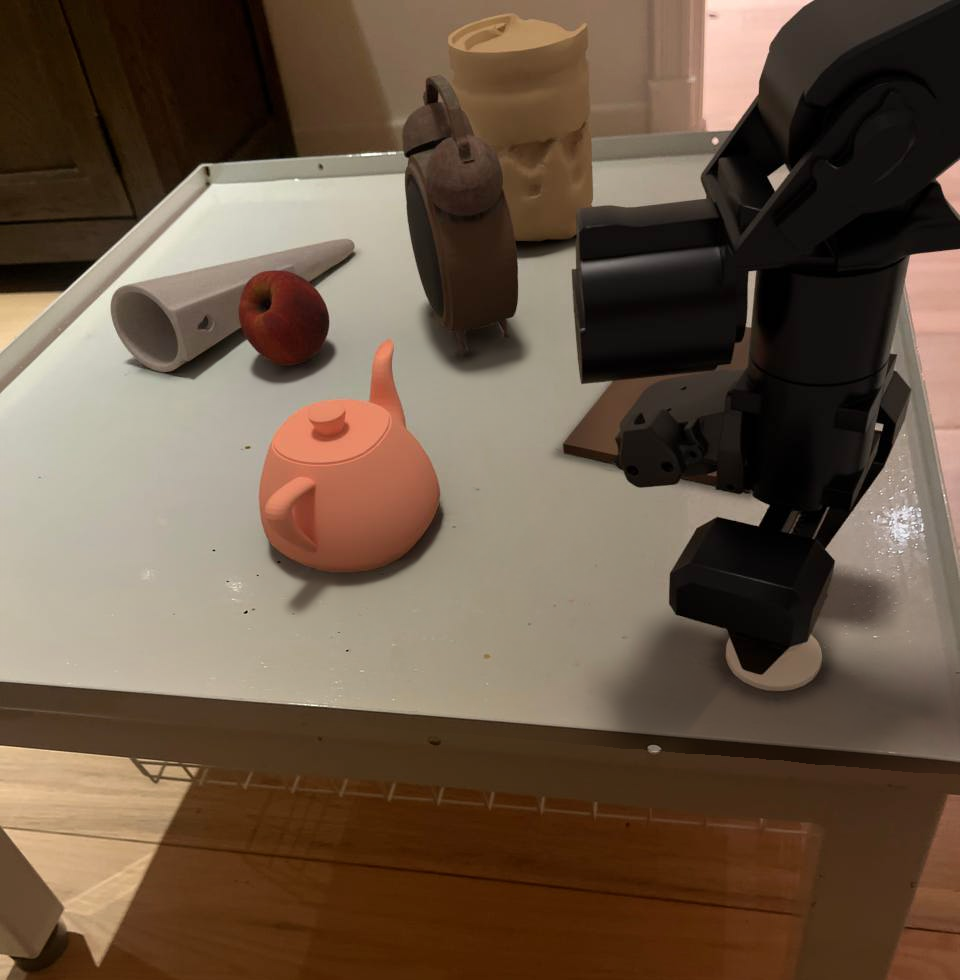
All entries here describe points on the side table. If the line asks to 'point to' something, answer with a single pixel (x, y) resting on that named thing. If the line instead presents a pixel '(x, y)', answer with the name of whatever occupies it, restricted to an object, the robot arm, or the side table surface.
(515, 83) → the container
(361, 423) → the teapot
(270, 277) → the apple
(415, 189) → the alarm clock
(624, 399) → the walnut board
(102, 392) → the side table surface
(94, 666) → the side table surface
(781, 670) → the candle
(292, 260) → the planter
